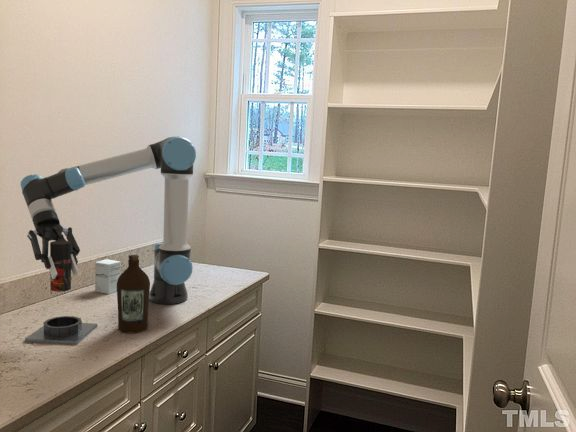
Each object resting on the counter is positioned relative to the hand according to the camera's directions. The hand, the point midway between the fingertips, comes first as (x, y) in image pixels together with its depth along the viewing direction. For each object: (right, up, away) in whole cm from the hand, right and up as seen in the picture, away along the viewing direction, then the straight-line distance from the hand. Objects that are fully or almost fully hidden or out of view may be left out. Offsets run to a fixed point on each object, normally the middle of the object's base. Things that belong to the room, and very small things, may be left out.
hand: (65, 274), depth 158 cm
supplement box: (-6, -13, +54) cm, 56 cm away
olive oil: (+17, -20, +13) cm, 29 cm away
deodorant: (-3, -5, +3) cm, 7 cm away
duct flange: (-3, -20, +5) cm, 20 cm away
